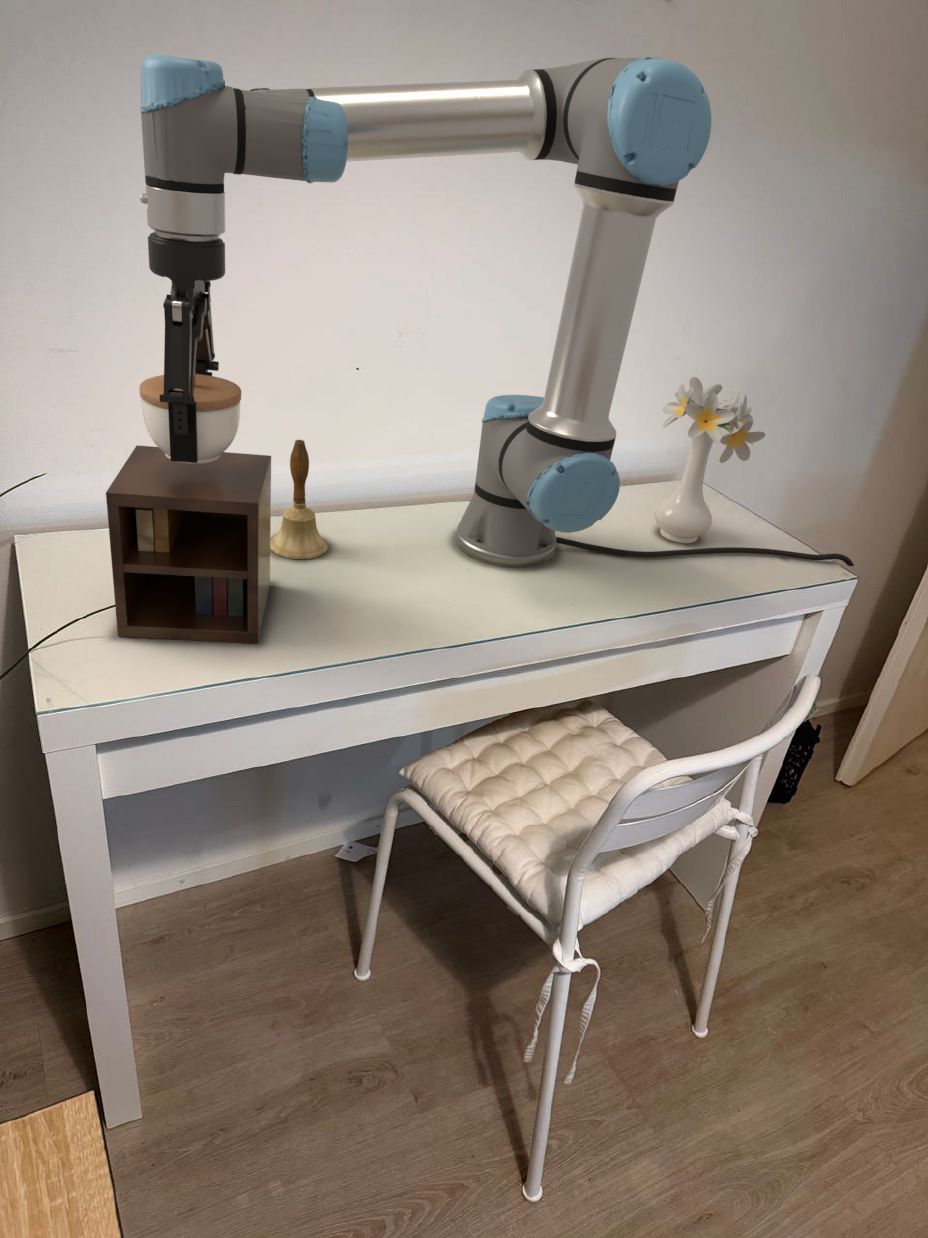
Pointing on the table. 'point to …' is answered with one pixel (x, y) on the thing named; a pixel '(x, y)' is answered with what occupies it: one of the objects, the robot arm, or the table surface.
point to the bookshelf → (190, 546)
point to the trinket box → (212, 413)
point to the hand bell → (299, 516)
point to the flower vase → (702, 455)
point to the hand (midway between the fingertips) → (193, 443)
